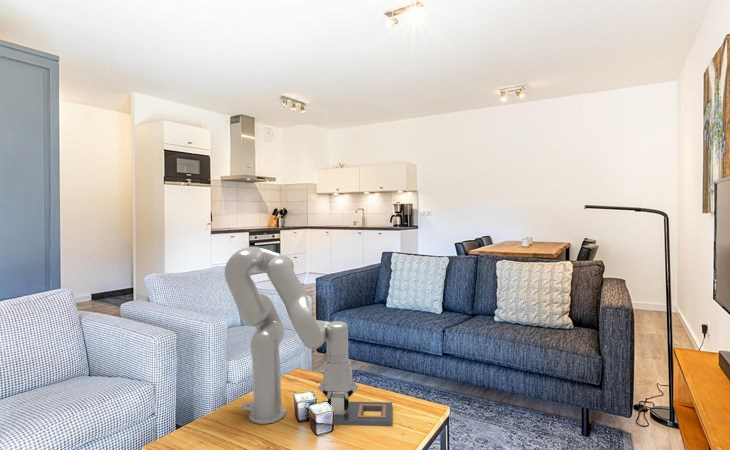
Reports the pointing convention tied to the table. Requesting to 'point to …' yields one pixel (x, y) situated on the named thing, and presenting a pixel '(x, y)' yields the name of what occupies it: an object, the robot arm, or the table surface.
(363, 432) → the table surface
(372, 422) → the dark grey slotted board
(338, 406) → the peg
